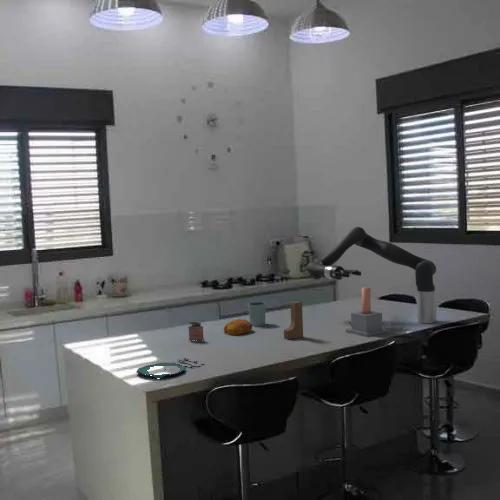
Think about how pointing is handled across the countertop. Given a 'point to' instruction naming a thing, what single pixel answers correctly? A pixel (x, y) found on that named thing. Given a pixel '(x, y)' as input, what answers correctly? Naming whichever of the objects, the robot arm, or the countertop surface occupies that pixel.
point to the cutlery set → (144, 369)
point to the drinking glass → (257, 313)
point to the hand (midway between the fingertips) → (354, 274)
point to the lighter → (195, 331)
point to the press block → (366, 324)
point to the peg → (366, 300)
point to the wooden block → (295, 322)
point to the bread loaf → (238, 327)
